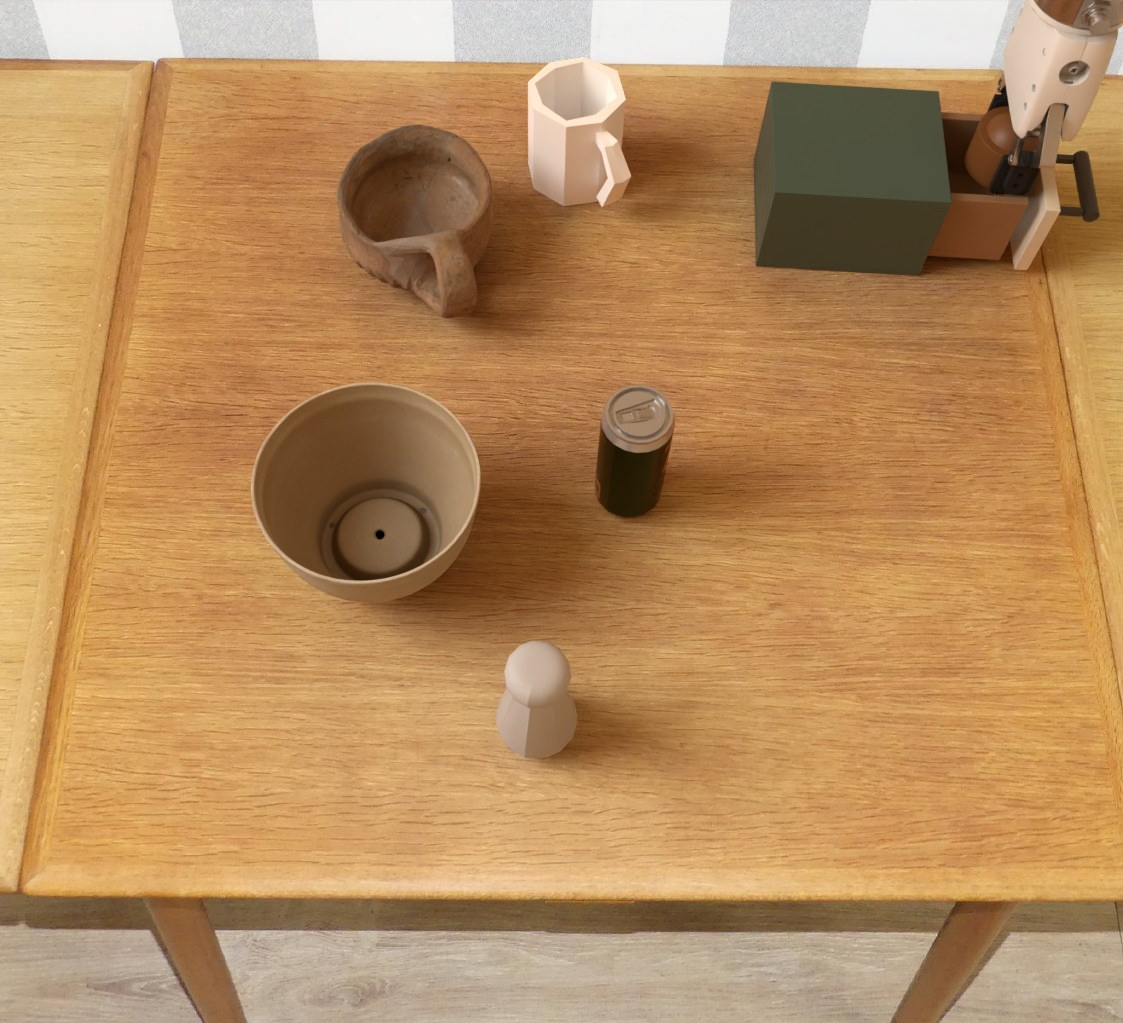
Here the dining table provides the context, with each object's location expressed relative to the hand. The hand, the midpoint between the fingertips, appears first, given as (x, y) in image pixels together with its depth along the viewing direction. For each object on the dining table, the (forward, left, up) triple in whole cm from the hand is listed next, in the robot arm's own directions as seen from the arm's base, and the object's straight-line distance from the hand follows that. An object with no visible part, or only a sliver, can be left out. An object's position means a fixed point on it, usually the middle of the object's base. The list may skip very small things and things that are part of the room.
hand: (1003, 160), depth 104 cm
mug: (+36, -2, -9) cm, 37 cm away
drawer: (0, 0, -7) cm, 7 cm away
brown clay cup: (+49, +8, -9) cm, 50 cm away
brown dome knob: (0, 0, -1) cm, 1 cm away
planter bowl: (+50, +36, -9) cm, 62 cm away
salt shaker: (+37, +50, -9) cm, 62 cm away
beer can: (+31, +30, -9) cm, 44 cm away
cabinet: (+13, 0, -8) cm, 15 cm away
